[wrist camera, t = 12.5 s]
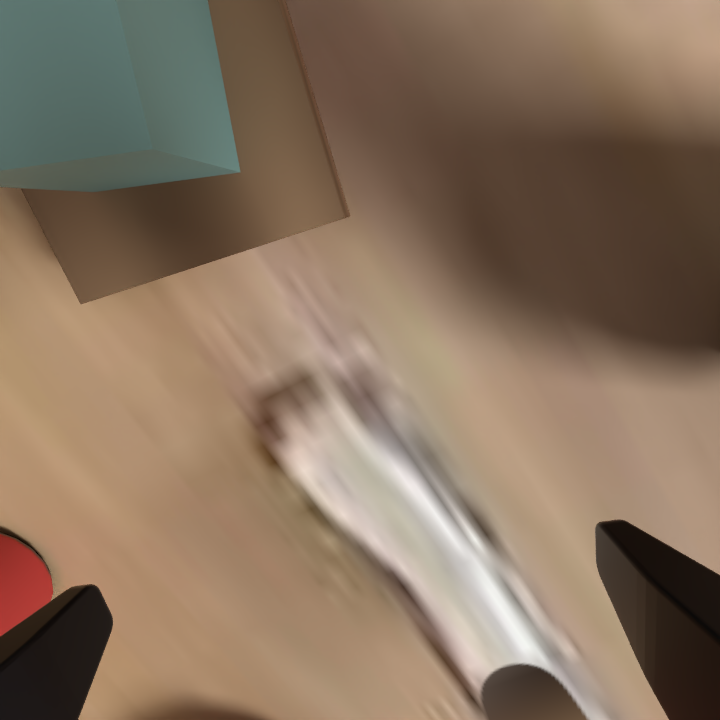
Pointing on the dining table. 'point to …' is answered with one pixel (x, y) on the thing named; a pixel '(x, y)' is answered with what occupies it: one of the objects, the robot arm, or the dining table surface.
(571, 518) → the dining table surface
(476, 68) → the dining table surface
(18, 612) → the beer can
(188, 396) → the dining table surface
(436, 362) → the dining table surface
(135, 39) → the teal block
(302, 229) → the walnut block
